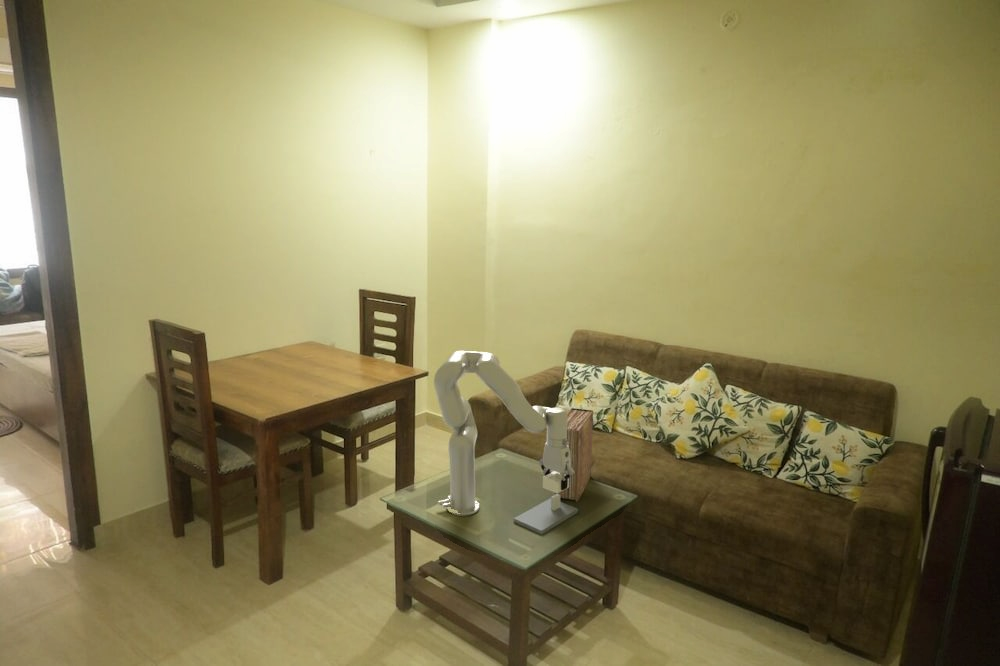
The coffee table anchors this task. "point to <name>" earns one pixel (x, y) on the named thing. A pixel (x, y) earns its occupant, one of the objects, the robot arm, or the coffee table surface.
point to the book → (579, 451)
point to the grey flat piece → (546, 515)
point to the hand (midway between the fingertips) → (555, 485)
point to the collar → (553, 482)
